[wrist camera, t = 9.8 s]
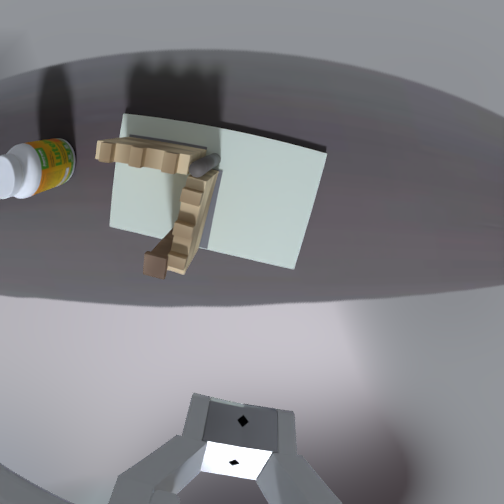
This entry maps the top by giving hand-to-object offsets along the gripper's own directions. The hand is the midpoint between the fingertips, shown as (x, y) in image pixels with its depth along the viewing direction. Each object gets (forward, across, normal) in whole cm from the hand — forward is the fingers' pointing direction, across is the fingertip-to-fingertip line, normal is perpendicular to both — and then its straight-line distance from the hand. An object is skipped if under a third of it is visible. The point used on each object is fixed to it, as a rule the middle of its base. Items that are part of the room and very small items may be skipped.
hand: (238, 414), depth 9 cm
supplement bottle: (+24, +23, -1) cm, 34 cm away
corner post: (+24, +7, +4) cm, 25 cm away
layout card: (+24, +5, -1) cm, 24 cm away
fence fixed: (+23, +9, -4) cm, 25 cm away
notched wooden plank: (+23, +6, +1) cm, 24 cm away
